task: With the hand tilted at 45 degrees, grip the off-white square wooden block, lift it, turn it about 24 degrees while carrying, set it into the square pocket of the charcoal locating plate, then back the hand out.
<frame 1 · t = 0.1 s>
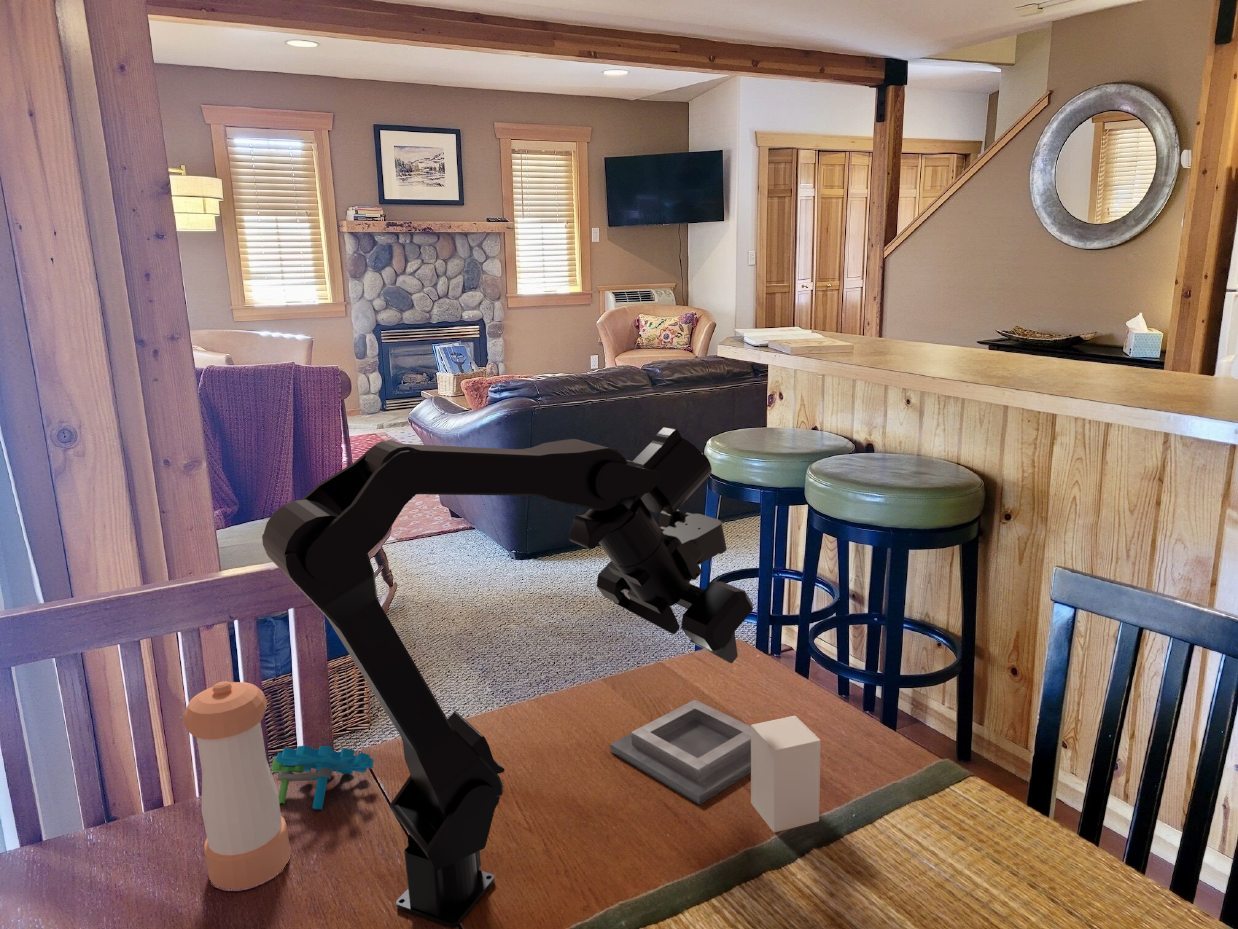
hand: (703, 644, 92), 15 cm above the table, tool tilted 35°, fingers open, 9 cm apart
pepper shaker: (250, 867, 82), on the table
square block: (784, 812, 87), on the table
locating plate: (696, 751, 98), on the table
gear: (325, 793, 94), on the table
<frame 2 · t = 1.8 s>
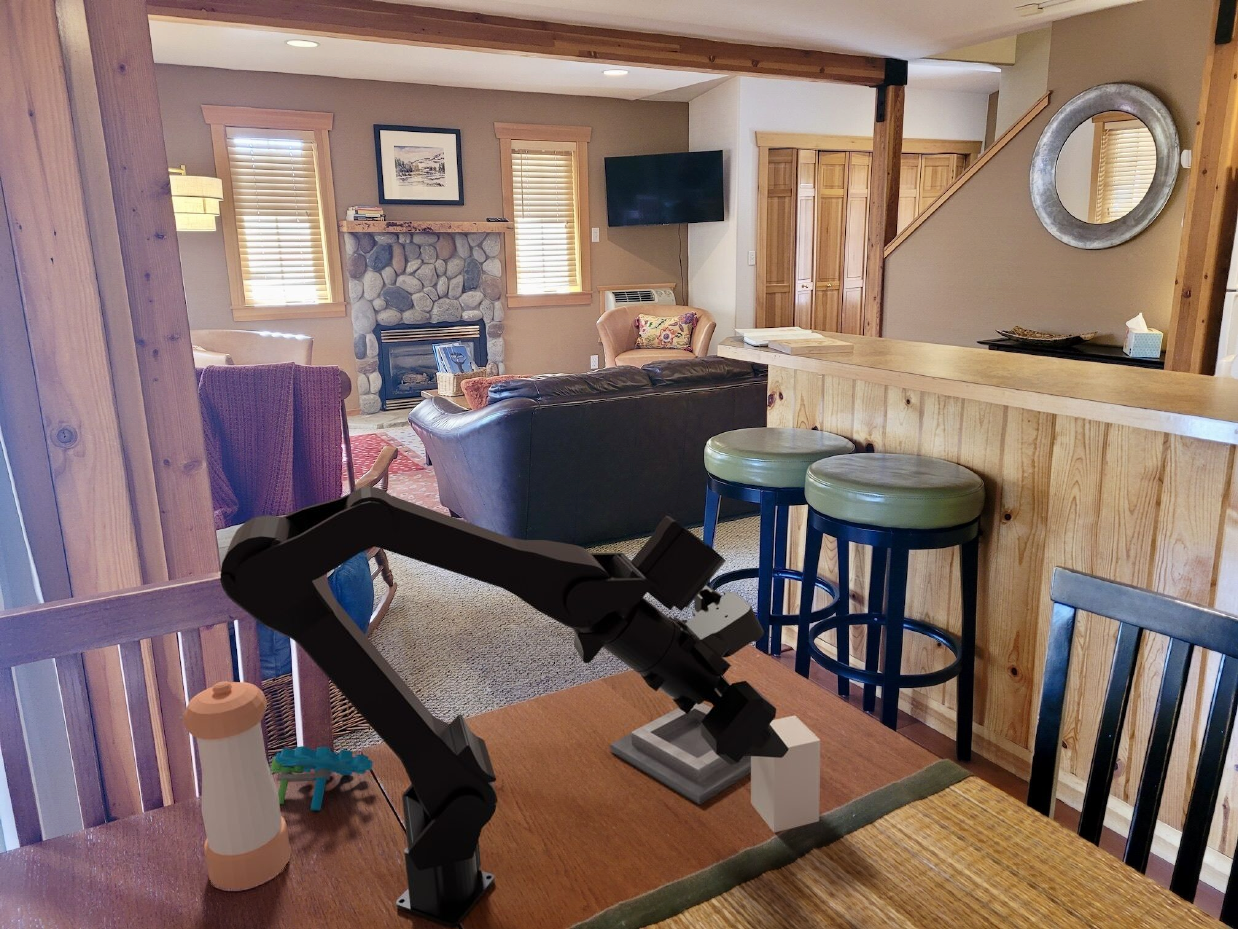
hand: (762, 728, 84), 10 cm above the table, tool tilted 45°, fingers open, 9 cm apart
nothing on the table moved.
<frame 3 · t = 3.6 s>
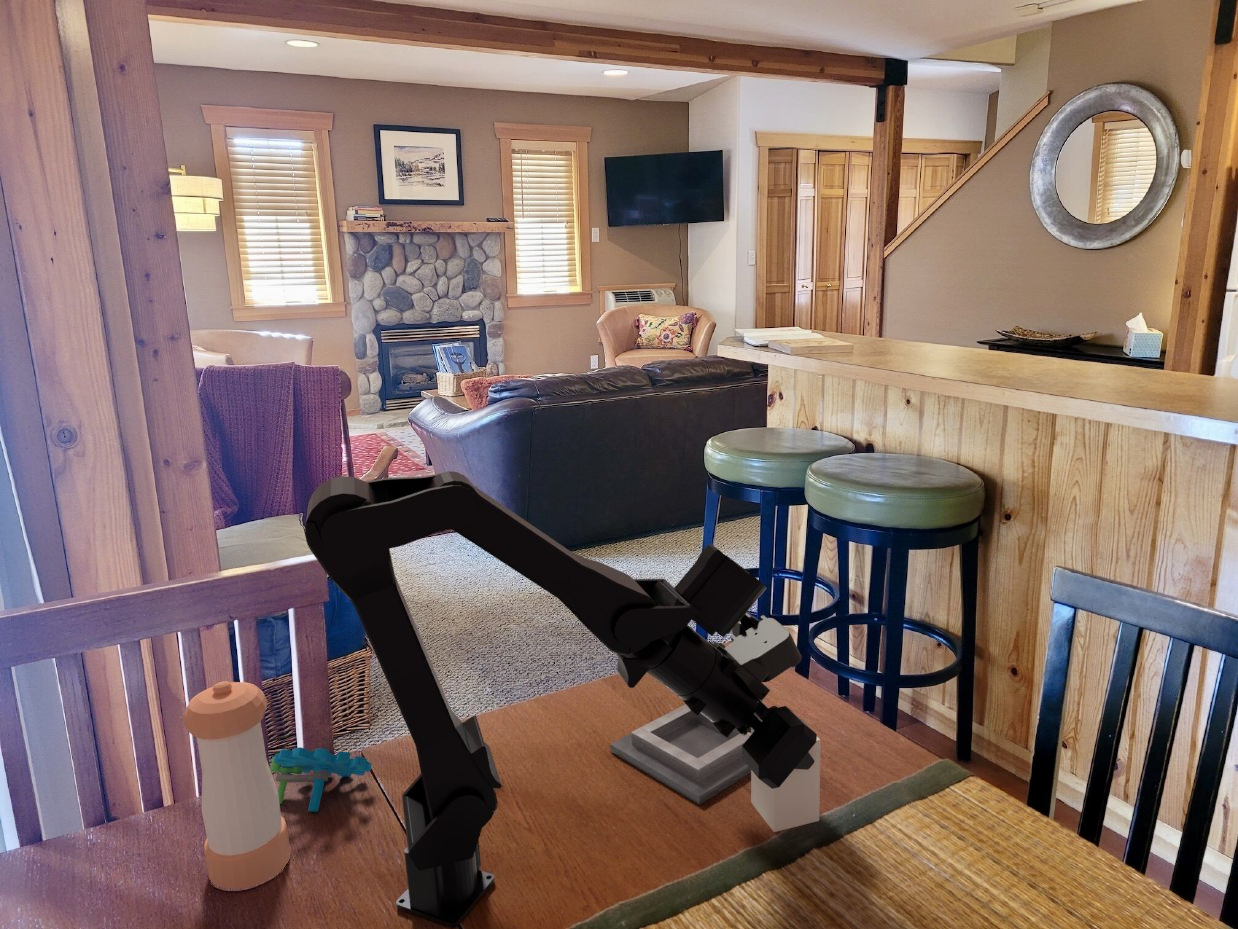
hand: (797, 750, 86), 7 cm above the table, tool tilted 45°, fingers closed on square block, 5 cm apart
square block: (784, 811, 87), on the table, touching gripper
everything else where it was.
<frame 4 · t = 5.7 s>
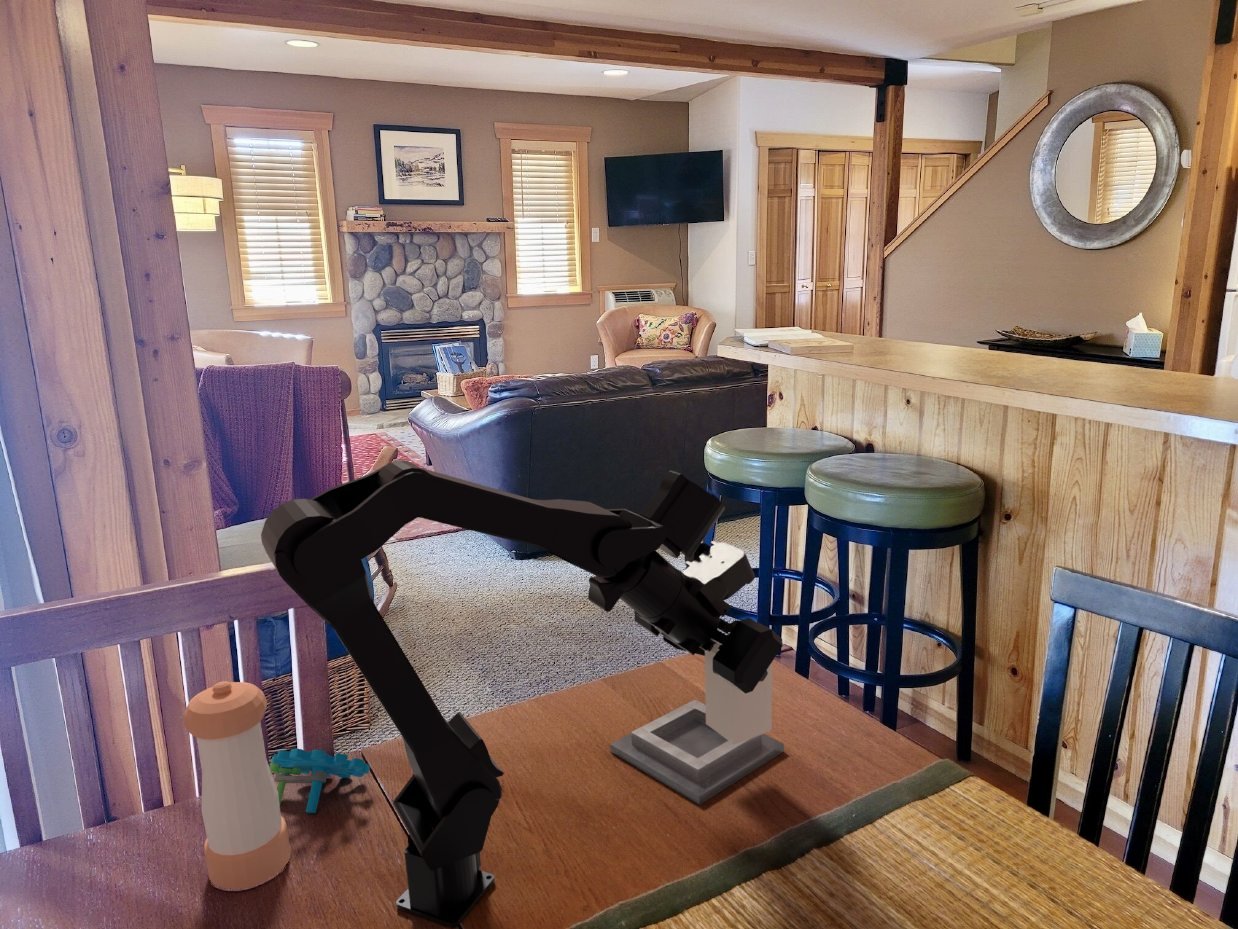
hand: (748, 667, 91), 12 cm above the table, tool tilted 45°, fingers closed on square block, 5 cm apart
square block: (738, 727, 92), point 6 cm above the table, touching gripper
everything else where it was.
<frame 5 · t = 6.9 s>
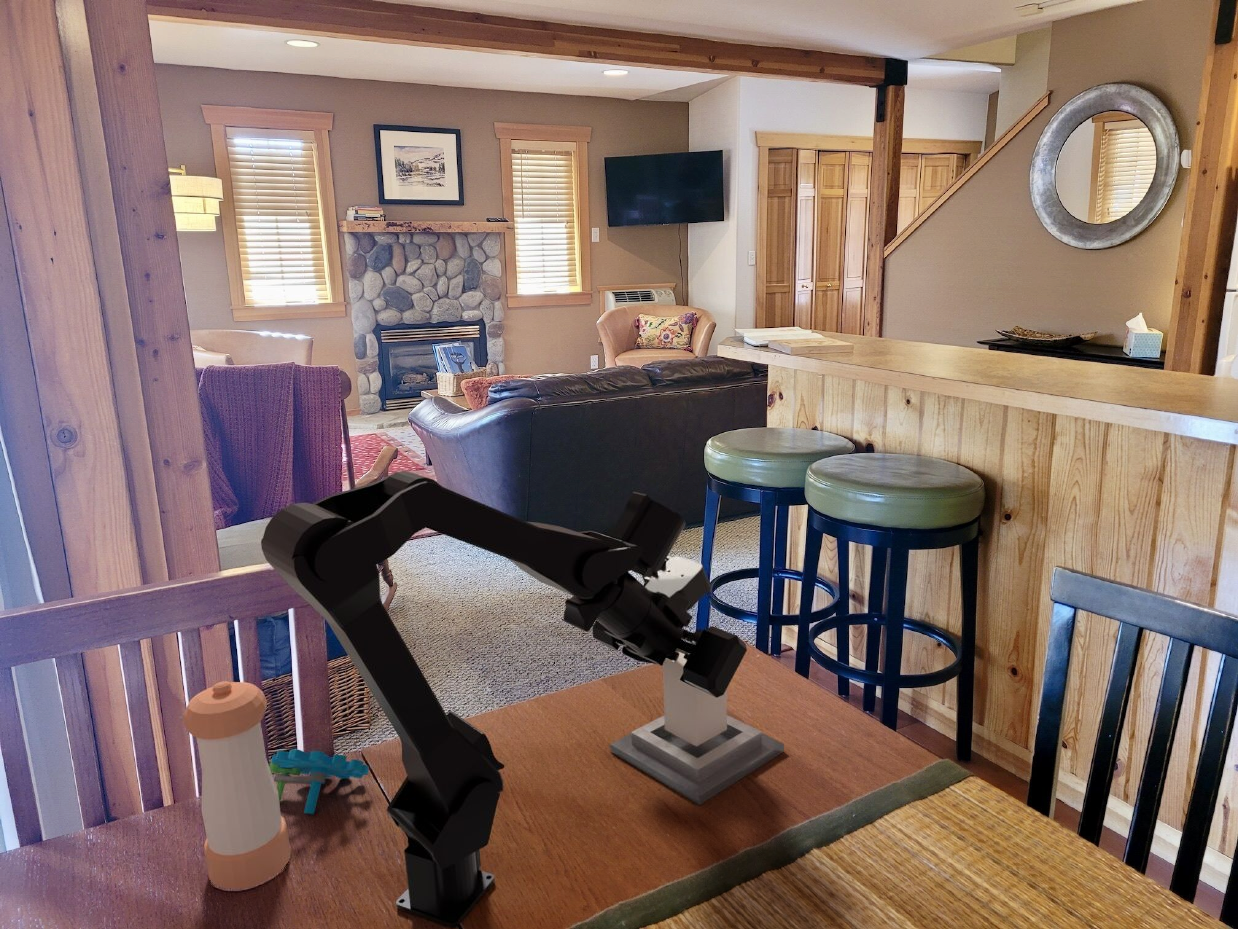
hand: (703, 672, 97), 9 cm above the table, tool tilted 45°, fingers closed on square block, 5 cm apart
square block: (695, 729, 98), point 3 cm above the table, touching gripper
everything else where it was.
when the fingers open (8 cm above the table, at t = 7.9 s): square block stays where it is, resting on locating plate.
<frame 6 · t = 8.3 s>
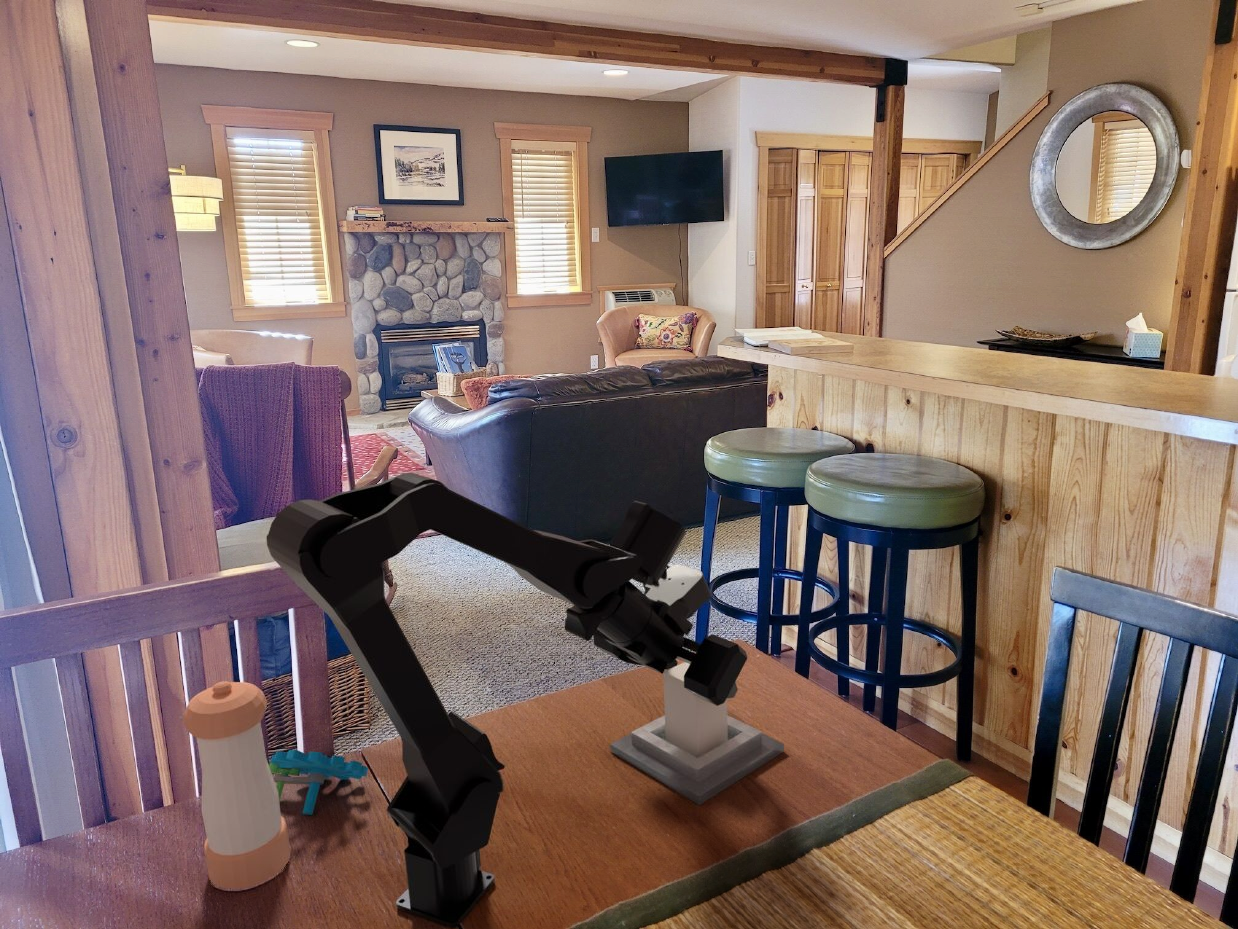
hand: (703, 679, 97), 9 cm above the table, tool tilted 45°, fingers open, 9 cm apart
square block: (696, 744, 98), point 1 cm above the table, touching locating plate
everything else where it was.
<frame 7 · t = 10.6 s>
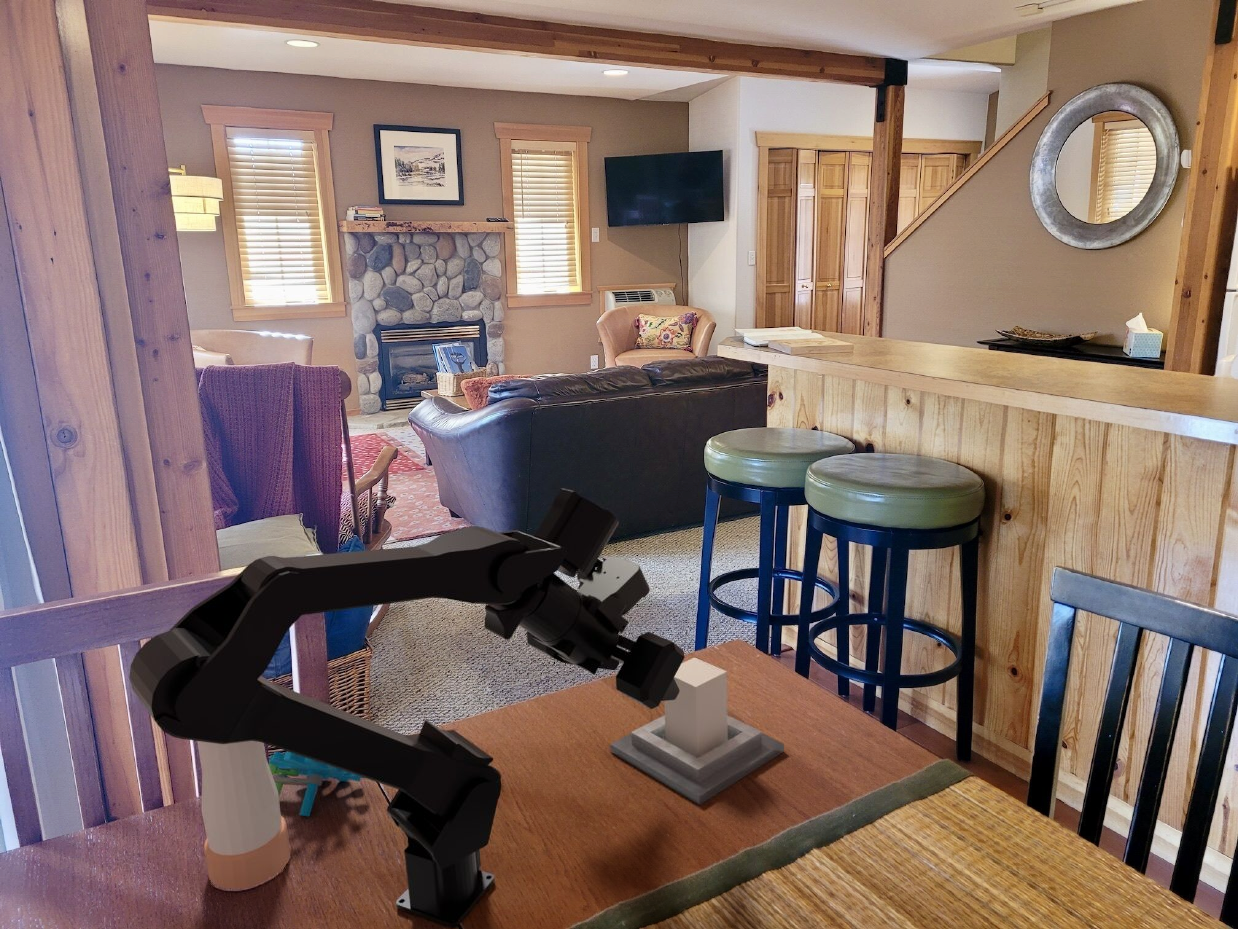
hand: (645, 679, 91), 12 cm above the table, tool tilted 45°, fingers open, 9 cm apart
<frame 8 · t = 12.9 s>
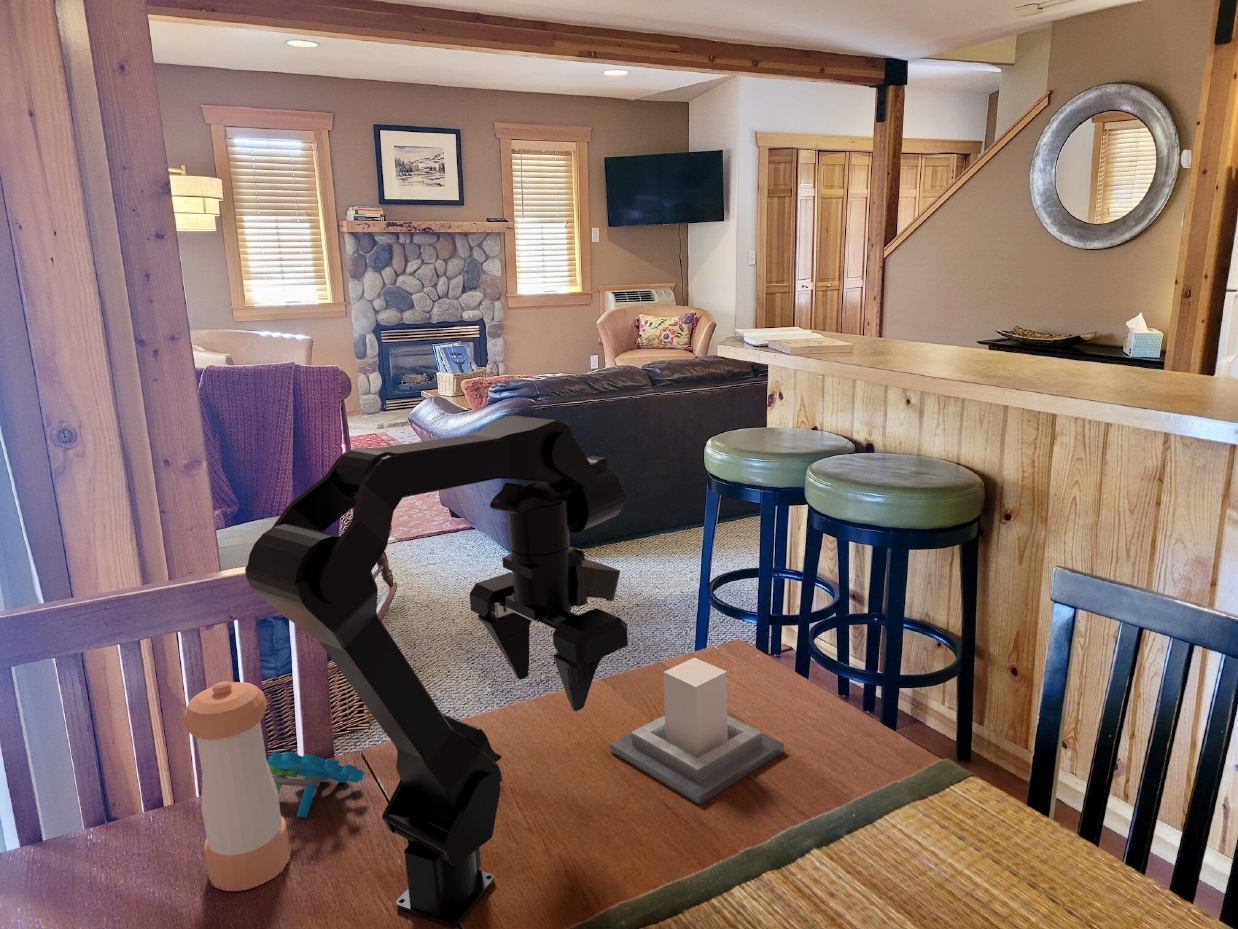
hand: (549, 693, 86), 13 cm above the table, tool pointing down, fingers open, 9 cm apart
at the end: square block 0.0 cm off-centre on the locating plate, point 1.0 cm above the locating plate's base; square block tilted 0°; the gripper is holding nothing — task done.
